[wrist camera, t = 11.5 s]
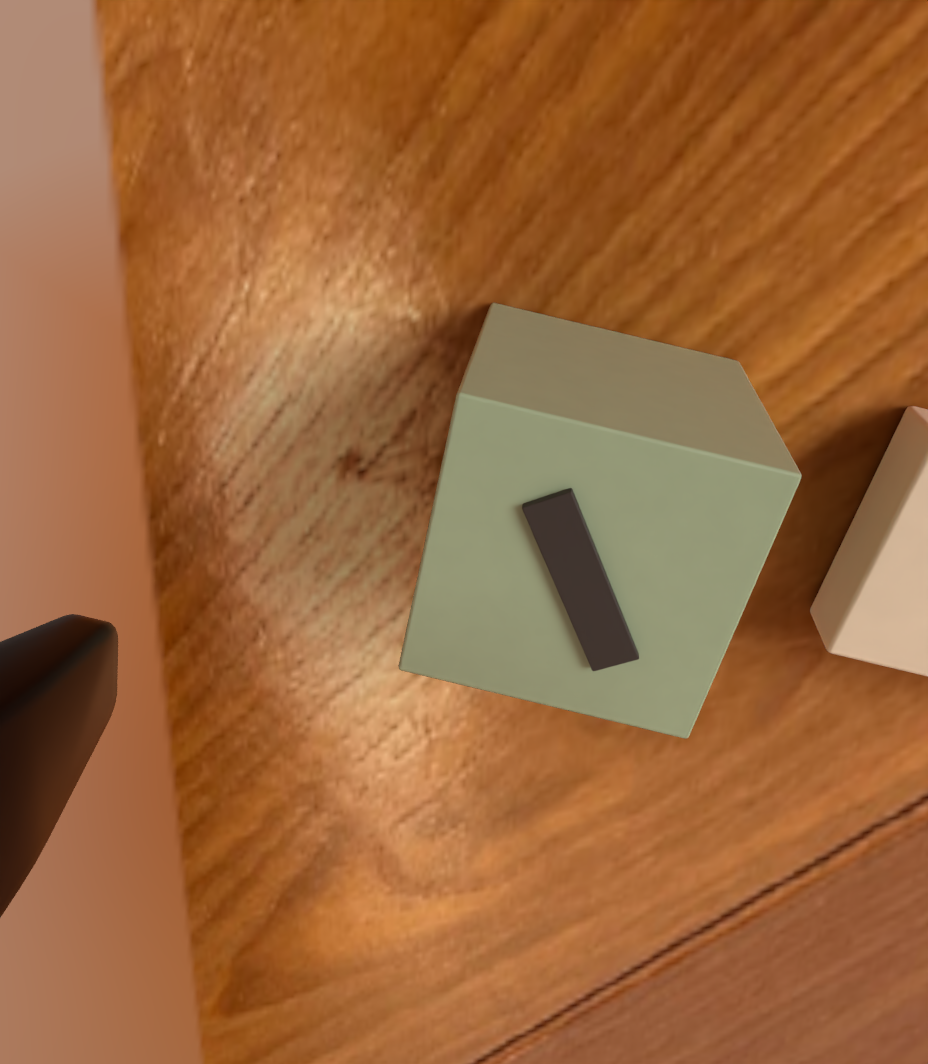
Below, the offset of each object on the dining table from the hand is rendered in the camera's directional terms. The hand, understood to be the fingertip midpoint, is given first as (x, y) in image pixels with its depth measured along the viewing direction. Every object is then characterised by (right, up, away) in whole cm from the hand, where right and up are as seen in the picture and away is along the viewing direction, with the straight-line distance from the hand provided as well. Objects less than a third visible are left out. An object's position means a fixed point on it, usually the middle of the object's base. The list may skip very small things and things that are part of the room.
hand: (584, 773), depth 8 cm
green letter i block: (+1, +4, +8) cm, 9 cm away
